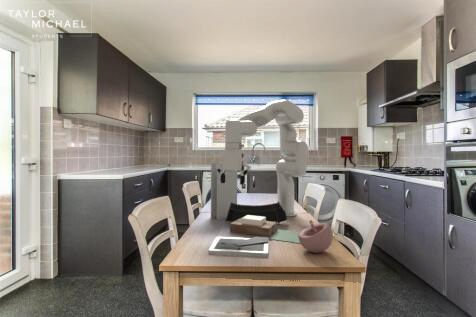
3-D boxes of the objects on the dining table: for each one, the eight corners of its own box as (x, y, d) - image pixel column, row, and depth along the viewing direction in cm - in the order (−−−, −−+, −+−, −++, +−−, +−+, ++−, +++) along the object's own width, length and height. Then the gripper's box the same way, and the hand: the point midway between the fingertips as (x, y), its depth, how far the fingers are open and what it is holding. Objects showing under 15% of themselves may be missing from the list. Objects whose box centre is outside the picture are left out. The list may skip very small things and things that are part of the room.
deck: (240, 226, 136) (240, 217, 136) (276, 230, 128) (276, 222, 128) (229, 232, 125) (229, 223, 125) (268, 238, 117) (268, 228, 117)
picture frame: (268, 244, 112) (216, 241, 114) (268, 237, 112) (216, 234, 114) (267, 259, 96) (208, 256, 99) (268, 251, 96) (208, 248, 98)
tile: (247, 220, 131) (247, 214, 131) (265, 222, 128) (265, 216, 128) (241, 223, 125) (241, 218, 125) (260, 225, 121) (260, 220, 121)
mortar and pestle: (295, 245, 108) (296, 216, 108) (327, 246, 108) (328, 216, 107) (300, 257, 96) (301, 224, 96) (336, 258, 96) (337, 225, 95)
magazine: (220, 205, 140) (278, 189, 138) (221, 204, 143) (278, 188, 142) (230, 238, 140) (288, 222, 139) (230, 236, 143) (287, 220, 142)
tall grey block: (230, 214, 162) (231, 161, 161) (237, 215, 158) (237, 162, 157) (210, 217, 152) (211, 162, 151) (217, 219, 148) (217, 162, 147)
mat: (278, 230, 130) (278, 229, 130) (309, 233, 124) (309, 233, 124) (268, 239, 116) (268, 238, 116) (303, 244, 110) (303, 243, 110)
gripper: (253, 147, 130) (252, 184, 130) (220, 146, 137) (219, 182, 137) (247, 146, 123) (246, 185, 124) (212, 146, 130) (212, 183, 131)
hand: (232, 183), depth 130 cm, fingers open, 9 cm apart
